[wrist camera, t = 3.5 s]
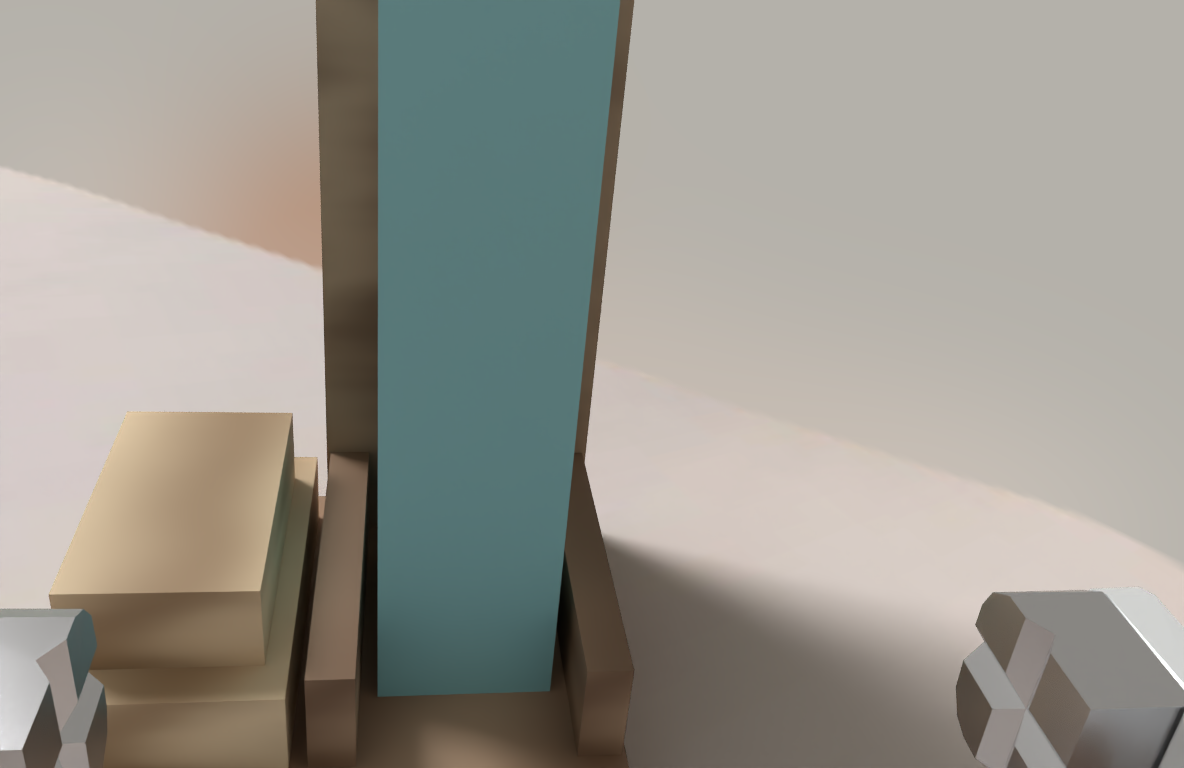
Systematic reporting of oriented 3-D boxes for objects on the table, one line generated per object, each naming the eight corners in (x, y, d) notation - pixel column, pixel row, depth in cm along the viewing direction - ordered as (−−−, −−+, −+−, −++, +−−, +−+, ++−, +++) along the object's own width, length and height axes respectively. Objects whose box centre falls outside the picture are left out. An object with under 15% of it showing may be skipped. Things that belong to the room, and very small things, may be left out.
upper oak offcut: (62, 671, 23) (48, 594, 22) (135, 478, 29) (126, 411, 28) (264, 665, 23) (260, 591, 23) (295, 478, 30) (292, 413, 29)
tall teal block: (377, 697, 26) (378, -101, 18) (382, 560, 30) (385, -131, 22) (550, 690, 26) (628, -80, 18) (530, 558, 31) (587, -114, 22)
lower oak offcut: (36, 779, 23) (21, 707, 22) (131, 517, 31) (123, 456, 30) (288, 768, 24) (284, 699, 23) (319, 516, 31) (317, 457, 30)
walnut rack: (18, 854, 22) (-169, 43, 15) (136, 525, 32) (59, -73, 24) (628, 821, 25) (744, 97, 17) (568, 522, 34) (625, -29, 26)
